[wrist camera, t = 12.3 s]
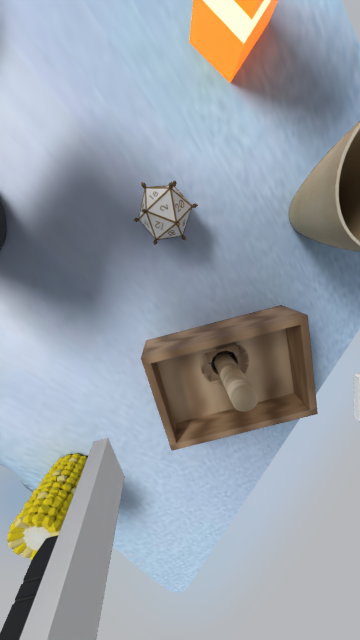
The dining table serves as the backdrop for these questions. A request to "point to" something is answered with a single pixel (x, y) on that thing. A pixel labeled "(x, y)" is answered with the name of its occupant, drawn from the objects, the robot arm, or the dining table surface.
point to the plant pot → (332, 197)
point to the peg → (235, 382)
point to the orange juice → (228, 30)
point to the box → (253, 360)
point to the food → (46, 506)
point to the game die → (164, 211)
